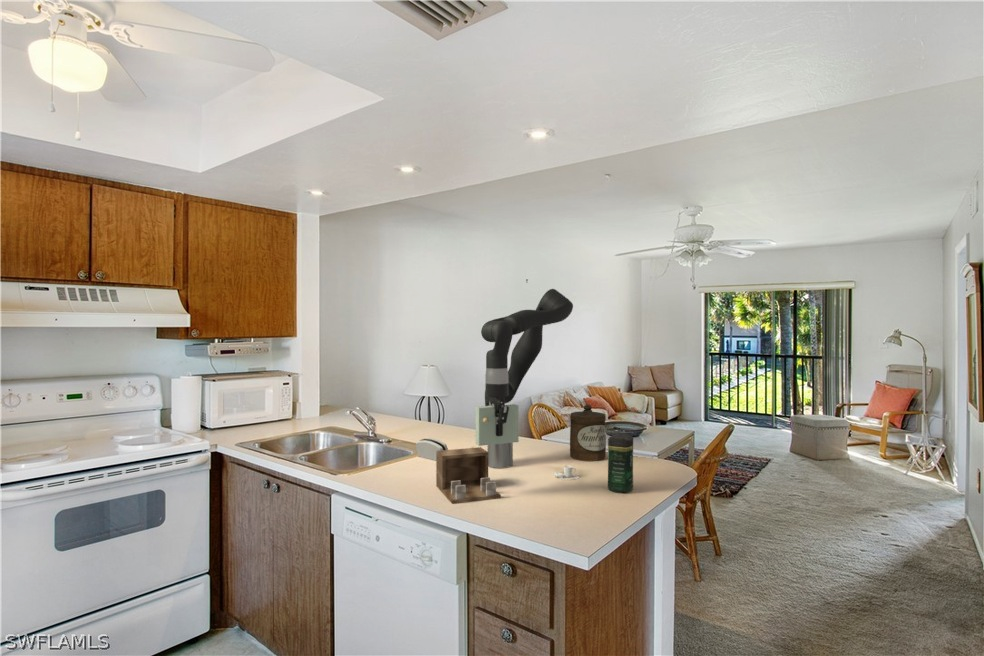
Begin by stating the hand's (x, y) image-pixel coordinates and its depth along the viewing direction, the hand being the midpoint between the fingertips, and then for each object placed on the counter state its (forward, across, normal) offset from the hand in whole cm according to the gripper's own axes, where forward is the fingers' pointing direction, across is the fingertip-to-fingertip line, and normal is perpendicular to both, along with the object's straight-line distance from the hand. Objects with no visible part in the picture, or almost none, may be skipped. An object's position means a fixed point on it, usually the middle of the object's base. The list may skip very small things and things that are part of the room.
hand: (497, 434), depth 170 cm
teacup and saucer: (+20, +11, -31) cm, 38 cm away
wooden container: (+19, +30, -55) cm, 66 cm away
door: (+3, 0, 0) cm, 3 cm away
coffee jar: (+20, -12, -40) cm, 46 cm away
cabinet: (+19, +6, +8) cm, 22 cm away
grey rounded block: (+19, +52, +6) cm, 56 cm away
